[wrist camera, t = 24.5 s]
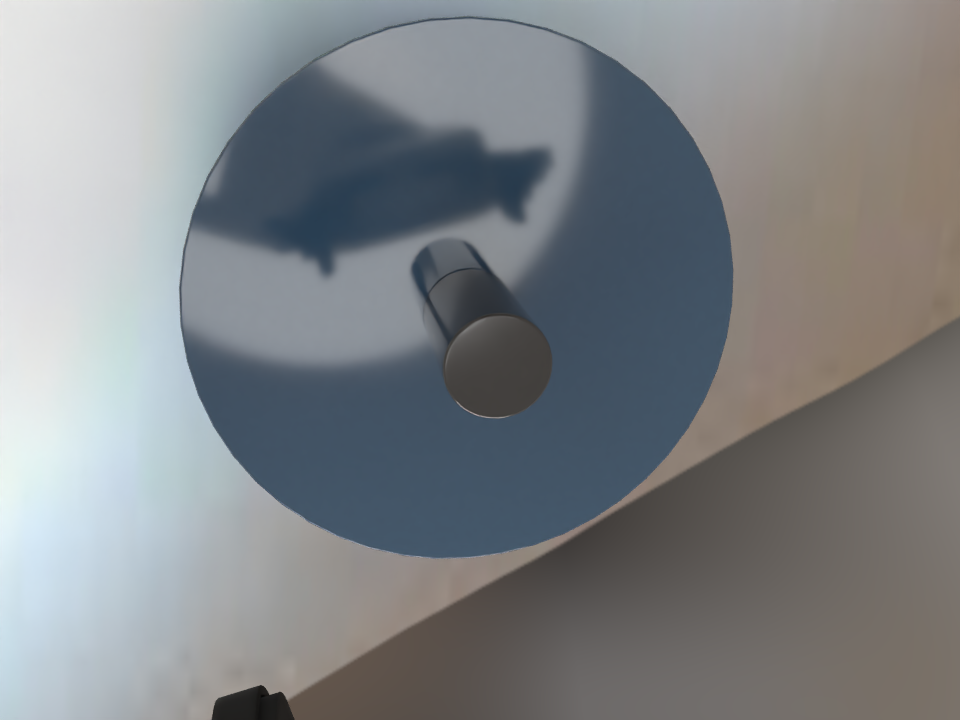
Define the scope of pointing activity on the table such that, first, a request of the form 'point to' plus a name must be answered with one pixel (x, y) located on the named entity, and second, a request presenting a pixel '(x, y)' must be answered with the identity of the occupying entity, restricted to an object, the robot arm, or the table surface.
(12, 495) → the table surface
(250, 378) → the lid
